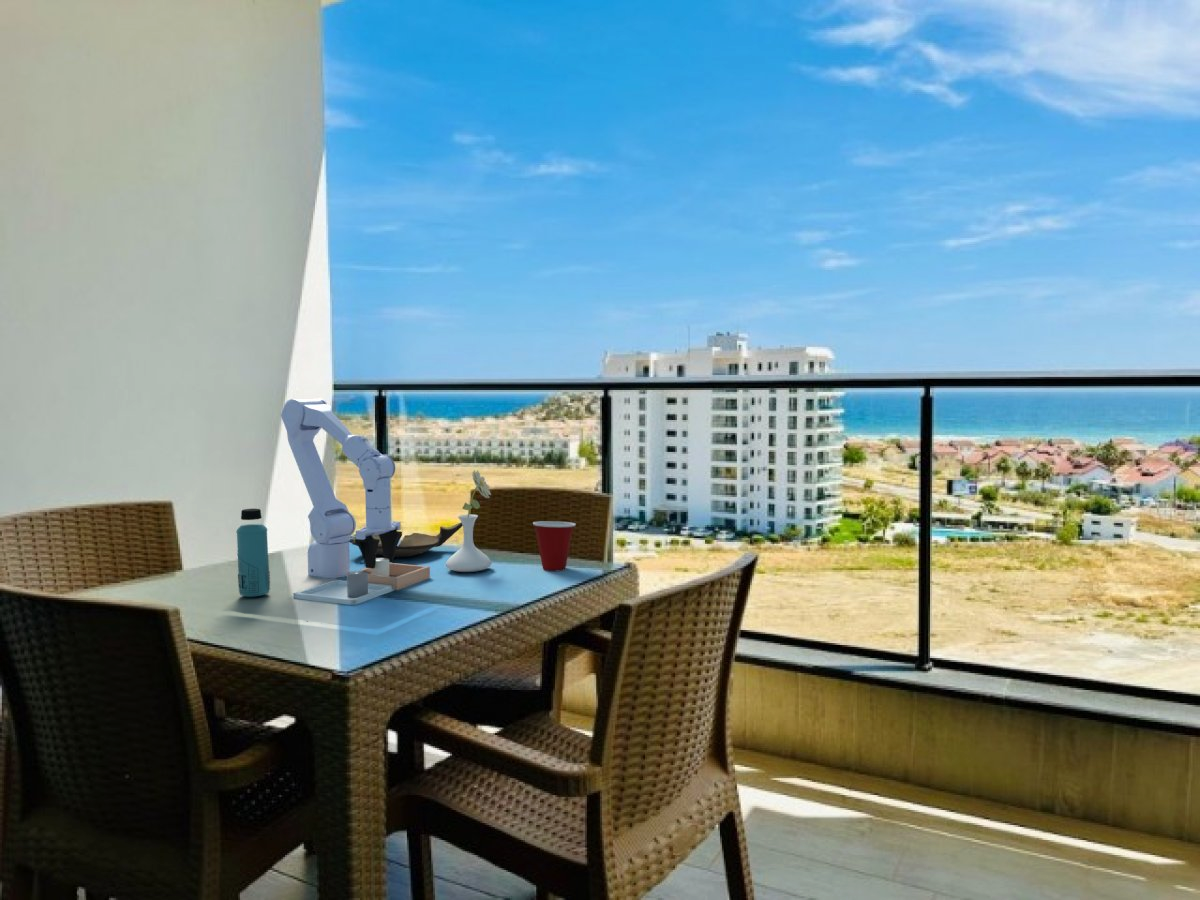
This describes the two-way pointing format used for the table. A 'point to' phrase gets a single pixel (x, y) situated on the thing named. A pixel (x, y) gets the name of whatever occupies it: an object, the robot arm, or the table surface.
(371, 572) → the pale grey cylinder
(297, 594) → the parts tray
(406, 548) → the dark brown curved bowl
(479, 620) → the table surface
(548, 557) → the plastic cup
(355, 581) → the grey plastic cylinder
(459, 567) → the flower in vase
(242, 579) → the beverage bottle
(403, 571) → the terracotta dish
